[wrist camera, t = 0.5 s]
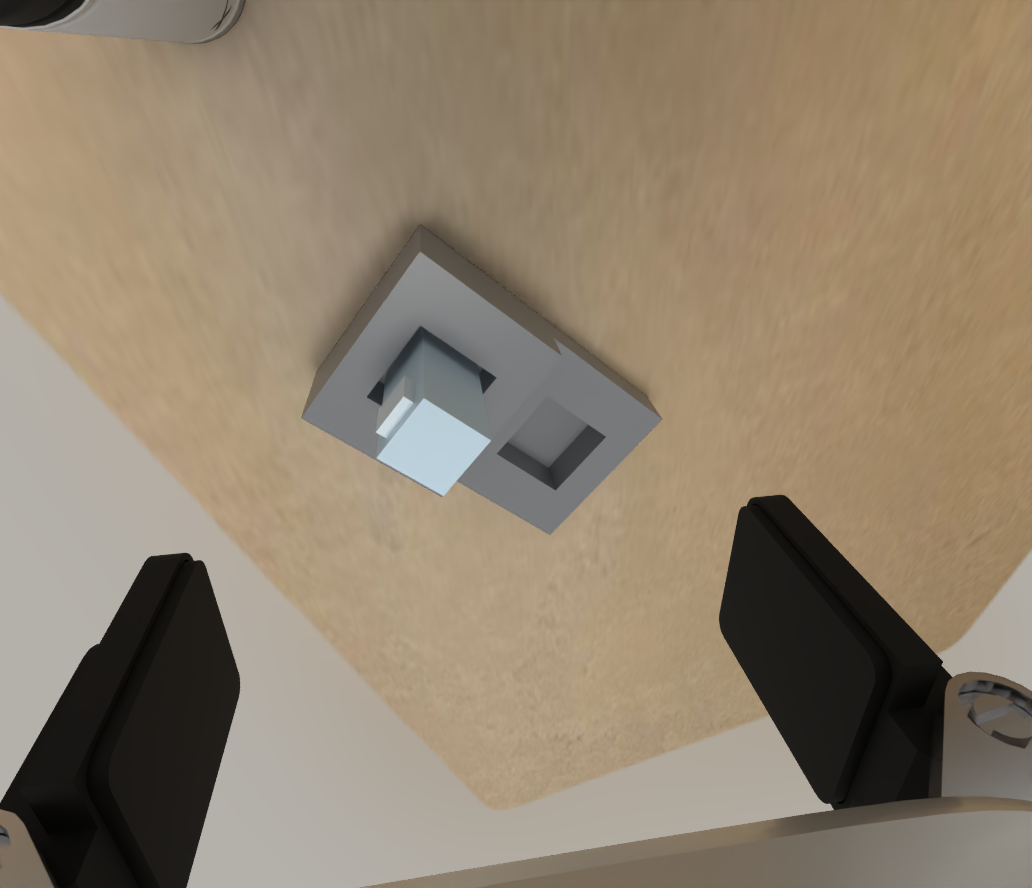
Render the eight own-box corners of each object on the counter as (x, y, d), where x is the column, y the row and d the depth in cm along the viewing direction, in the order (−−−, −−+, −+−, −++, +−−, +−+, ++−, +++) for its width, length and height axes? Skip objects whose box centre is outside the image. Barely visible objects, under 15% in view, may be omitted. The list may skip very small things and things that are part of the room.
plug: (414, 317, 38) (413, 391, 30) (476, 359, 40) (491, 440, 31) (377, 367, 39) (365, 452, 31) (438, 406, 41) (443, 496, 33)
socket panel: (420, 224, 39) (420, 251, 33) (647, 396, 47) (677, 441, 41) (316, 371, 43) (301, 418, 37) (542, 507, 51) (557, 561, 45)
